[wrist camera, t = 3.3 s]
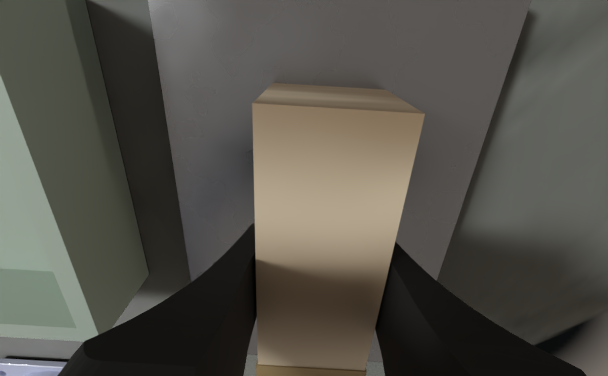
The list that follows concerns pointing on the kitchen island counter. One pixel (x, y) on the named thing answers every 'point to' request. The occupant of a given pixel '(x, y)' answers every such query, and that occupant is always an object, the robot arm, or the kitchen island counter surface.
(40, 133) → the bin
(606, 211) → the kitchen island counter surface
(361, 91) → the tan long block
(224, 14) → the mount
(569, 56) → the kitchen island counter surface
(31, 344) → the kitchen island counter surface
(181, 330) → the robot arm
